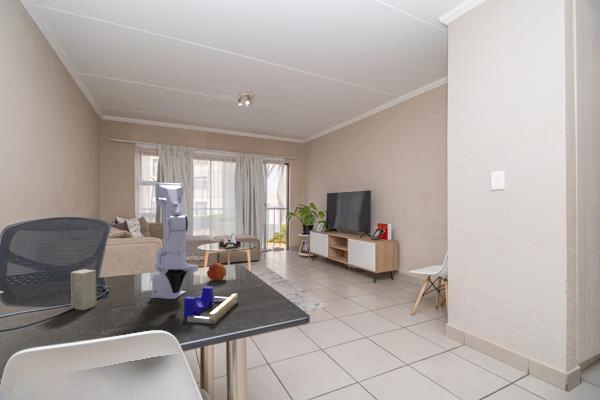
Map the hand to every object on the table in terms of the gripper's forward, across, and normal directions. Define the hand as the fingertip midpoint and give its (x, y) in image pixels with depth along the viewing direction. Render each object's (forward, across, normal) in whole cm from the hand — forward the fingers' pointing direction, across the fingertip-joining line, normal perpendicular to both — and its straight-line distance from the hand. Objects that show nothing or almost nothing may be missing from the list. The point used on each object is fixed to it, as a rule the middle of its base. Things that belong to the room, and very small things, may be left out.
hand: (176, 292), depth 93 cm
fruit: (+5, -2, +33) cm, 34 cm away
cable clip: (+6, +8, 0) cm, 9 cm away
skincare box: (+6, -31, -5) cm, 31 cm away
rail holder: (+5, +13, 0) cm, 14 cm away
